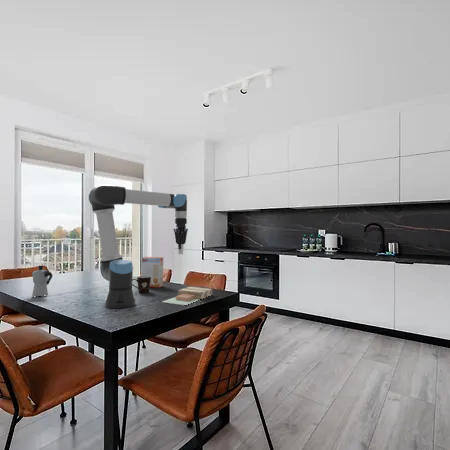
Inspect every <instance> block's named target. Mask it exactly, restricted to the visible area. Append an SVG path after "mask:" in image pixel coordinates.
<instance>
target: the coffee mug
mask: <svg viewBox="0 0 450 450" xmlns="http://www.w3.org/2000/svg"><path fill="white" fill-rule="evenodd" d="M136 277H137V279H136V278H134V279H133V278H132V282H133V281H136V282H137V286H136V285H135V284H133V283H132V287H135V288H137V290H138V294H148V293H150V288H151V287H150V281H151V276H142V275H139V276H136Z"/></svg>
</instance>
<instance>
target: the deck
mask: <svg viewBox="0 0 450 450" xmlns="http://www.w3.org/2000/svg"><path fill="white" fill-rule="evenodd" d="M181 294H190V295H195V299H202V300H204V299H207V298H209V297H208V296H210V297H211V295H212V296H213V288H207V287H198V286H187V287H184V288H180V289H178V290H177V296H178V295H181ZM206 297H207V298H206ZM203 298H204V299H203Z"/></svg>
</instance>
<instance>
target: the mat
mask: <svg viewBox="0 0 450 450" xmlns="http://www.w3.org/2000/svg"><path fill="white" fill-rule="evenodd" d="M198 300H199V301H201V300H200V299H192V300H190V301H181V300H176V296H175V297H172V298H169V299H165V300H163V301H161V303H163V304H170V305H178V306H184V305H187V306H189V305H192V304H194V303H196V301H197V302H199V301H198ZM193 302H194V303H193ZM191 303H192V304H191ZM188 304H189V305H188Z"/></svg>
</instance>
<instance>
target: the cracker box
mask: <svg viewBox="0 0 450 450" xmlns="http://www.w3.org/2000/svg"><path fill="white" fill-rule="evenodd" d="M141 276H151V281H150V288H156V289H157V288H162V287H164V257H162V256H143V257H142V256H141Z"/></svg>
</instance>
